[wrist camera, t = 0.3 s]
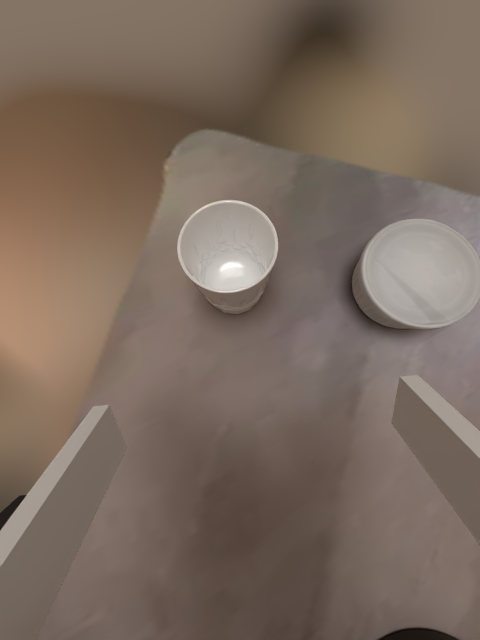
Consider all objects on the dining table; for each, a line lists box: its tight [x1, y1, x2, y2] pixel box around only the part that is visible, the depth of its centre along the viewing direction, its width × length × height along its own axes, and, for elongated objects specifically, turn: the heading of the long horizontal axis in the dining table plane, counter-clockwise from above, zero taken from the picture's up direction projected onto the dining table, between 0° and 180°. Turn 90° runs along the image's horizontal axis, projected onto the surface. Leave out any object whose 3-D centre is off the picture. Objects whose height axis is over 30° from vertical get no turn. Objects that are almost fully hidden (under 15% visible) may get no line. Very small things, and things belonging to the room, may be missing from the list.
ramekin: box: [352, 219, 480, 330], centre depth 26 cm, size 11×11×5 cm
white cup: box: [177, 200, 278, 314], centre depth 24 cm, size 8×8×10 cm
